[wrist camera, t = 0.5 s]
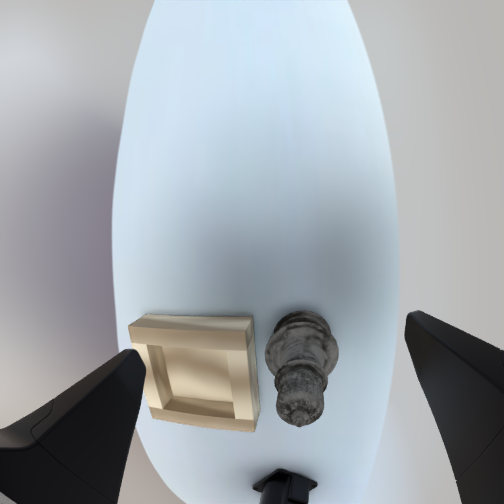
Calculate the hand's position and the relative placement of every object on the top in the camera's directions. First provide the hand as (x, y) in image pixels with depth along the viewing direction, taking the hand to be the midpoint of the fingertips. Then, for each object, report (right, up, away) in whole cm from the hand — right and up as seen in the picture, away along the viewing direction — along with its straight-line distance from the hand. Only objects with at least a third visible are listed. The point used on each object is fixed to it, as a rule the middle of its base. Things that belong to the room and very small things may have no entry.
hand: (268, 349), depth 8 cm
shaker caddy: (-6, -9, +18) cm, 21 cm away
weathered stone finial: (+4, -5, +16) cm, 17 cm away
